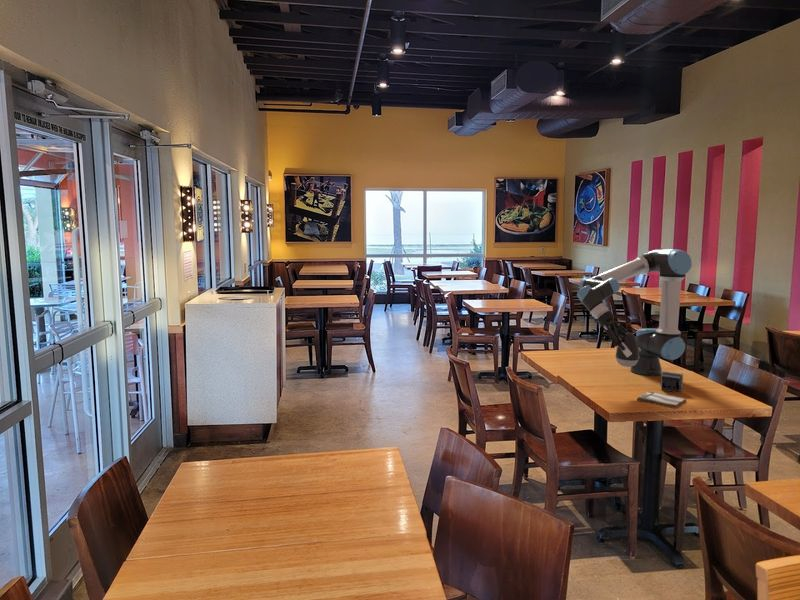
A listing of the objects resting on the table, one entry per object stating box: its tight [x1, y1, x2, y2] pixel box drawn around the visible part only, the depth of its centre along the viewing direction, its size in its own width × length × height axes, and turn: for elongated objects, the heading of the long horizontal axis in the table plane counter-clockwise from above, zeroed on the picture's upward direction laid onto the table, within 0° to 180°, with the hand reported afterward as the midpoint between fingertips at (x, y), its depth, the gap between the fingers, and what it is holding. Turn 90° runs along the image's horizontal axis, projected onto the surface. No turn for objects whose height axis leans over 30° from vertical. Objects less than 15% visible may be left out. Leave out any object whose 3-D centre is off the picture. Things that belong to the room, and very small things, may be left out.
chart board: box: [636, 391, 687, 409], centre depth 265 cm, size 14×16×1 cm
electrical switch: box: [660, 370, 684, 393], centre depth 280 cm, size 9×5×9 cm, turn 57°
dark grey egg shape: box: [615, 332, 639, 368], centre depth 274 cm, size 10×10×15 cm
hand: (634, 353), depth 272 cm, fingers closed on dark grey egg shape, 9 cm apart
